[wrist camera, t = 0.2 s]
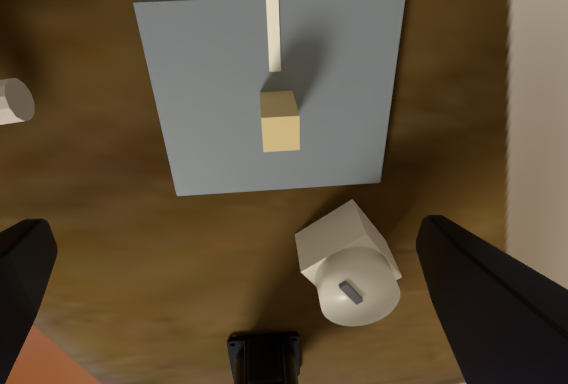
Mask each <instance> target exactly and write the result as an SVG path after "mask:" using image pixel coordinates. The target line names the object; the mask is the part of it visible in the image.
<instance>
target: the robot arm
mask: <svg viewBox="0 0 568 384" xmlns="http://www.w3.org/2000/svg"><path fill="white" fill-rule="evenodd" d="M416 250H417V254H418V257H419V261H420V264H421V267H422V271H423V274H424V277H425V281H426V284H427V288H428V291H429V294H430V297H431V300H432V303H433V306H434V308H435V311H436V313H437V315H438V318H439V320H440V322H441V325H442V327H443V330H444V332H445V334H446V337H447V339H448V341H449V344H450V346H451V348H452V351H453V353H454V355H455V358H456V360H457V363H458V365H459V367H460V370H461V372H462V374H463V377H464V379H465V381H466V383H467V384H568V290H567V289H566V288H564V287H562V286H561V285H559V284H557V283H555V282H554V281H552V280H550V279H549V278H547V277H545V276H544V275H542V274H540V273H539V272H537V271H535V270H533V269H532V268H530V267H528V266H527V265H525V264H523V263H522V262H520V261H518V260H517V259H515V258H513V257H511V256H510V255H508V254H506V253H505V252H503V251H501V250H500V249H498V248H496V247H495V246H493V245H491V244H490V243H488V242H486V241H485V240H483V239H481V238H479V237H478V236H476V235H474V234H473V233H471V232H469V231H468V230H466V229H464V228H463V227H461V226H459V225H458V224H456V223H454V222H452V221H451V220H449V219H447V218H446V217H444V216H442V215H427V216H425V217H424V218H423V220H422V223H421V226H420V229H419V232H418V236H417V239H416ZM56 257H57V244H56V242H55V239H54V236H53V234H52V231H51V228H50V225H49V223H48V222H47V221H46V220H45V219H24V220H22V221H20V222H19V223H17V224H15V225H13V226H11V227H9V228H7V229H5V230H4V231H2V232H0V384H5V382H6V380H7V378H8V376H9V374H10V371H11V369H12V367H13V365H14V363H15V361H16V359H17V357H18V355H19V352H20V350H21V348H22V346H23V344H24V342H25V340H26V337H27V335H28V333H29V331H30V329H31V326H32V325H33V322H34V320H35V318H36V315H37V313H38V310H39V308H40V305H41V302H42V299H43V296H44V293H45V290H46V287H47V284H48V281H49V278H50V275H51V272H52V269H53V266H54V263H55V260H56ZM227 348H228V353H229V358H230V364H231V369H232V374H233V379H234V384H298V375H299V374H300V339H299V334H298V333H296V332H292V333H281V334H269V335H257V336H245V337H233V338H229V339H228V340H227Z"/></svg>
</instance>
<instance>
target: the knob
mask: <svg viewBox="0 0 568 384" xmlns="http://www.w3.org/2000/svg"><path fill="white" fill-rule="evenodd" d="M295 239H296V246H297V252H298V258H299V265H300V271H301V273H302V274H303V275H304V276H305V277H306V278H307V279H308V280H310V281H311V282H312V283H313V284H314V285H315V286H316V287H317V291H318V296H319V301H320V306H321V310H322V313H323V314H324V316H325V317H326V318H327V319H328V320H330V321H332V322H333V323H336V324H339V325H343V326H362V325H367V324H370V323H373V322H376V321H378V320H380V319H382V318H384V317H385V316H387V315H388V314H389V313H390V312H392V311H393V309H394V308H395V307H396V306H397V304H398V302H399V299H400V288H399V286H398V284H397V281H396V280H398V279H399V278H401V277H402V276H401V273H400V271H399V269H398V267H397V264H396V262H395V260H394V258H393V256H392V253H391V251H390V249H389V247H388V244H387V242H386V240H385V239H384V238H383V236H382V235H381V234H380V233H379V231H378V230H377V229H376V228H375V226H374V225H373V224H372V223H371V221H370V220H369V219H368V218H367V216H366V215H365V214H364V213H363V211H362V210H361V209H360V208H359V206H358V205H357V204H356V203H355V201H354V200H353V199H352V200H350V201H348V202H347V203H345V204H343V205H342V206H340V207H339V208H337V209H335V210H334V211H332V212H330V213H329V214H327V215H325V216H324V217H322V218H321V219H319V220H317V221H316V222H314V223H312V224H311V225H309V226H308V227H306V228H304V229H303V230H301V231H299V232H298V233H296V234H295Z"/></svg>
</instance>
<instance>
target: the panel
mask: <svg viewBox="0 0 568 384" xmlns="http://www.w3.org/2000/svg"><path fill="white" fill-rule="evenodd" d="M133 4H134V9H135V13H136V17H137V22H138V26H139V31H140V35H141V40H142V44H143V48H144V53H145V57H146V62H147V66H148V70H149V75H150V79H151V84H152V88H153V92H154V97H155V101H156V106H157V110H158V115H159V119H160V123H161V128H162V132H163V137H164V141H165V145H166V150H167V154H168V159H169V163H170V168H171V172H172V176H173V181H174V185H175V190H176V194H177V196H186V195H201V194H216V193H231V192H246V191H262V190H277V189H292V188H307V187H322V186H337V185H353V184H368V183H380V180H381V173H382V166H383V159H384V151H385V144H386V137H387V129H388V122H389V115H390V107H391V100H392V93H393V85H394V78H395V71H396V63H397V56H398V49H399V41H400V34H401V27H402V19H403V12H404V5H405V0H137V1H135V2H133Z"/></svg>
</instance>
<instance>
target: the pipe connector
mask: <svg viewBox="0 0 568 384" xmlns="http://www.w3.org/2000/svg"><path fill="white" fill-rule="evenodd" d="M34 113H35V110H34V101H33V98H32V95H31V92H30V91H29V89H28V88H27V87H26V85H25V84H24V83H23V82H21V81H20V80H18V79H17V78H11V79H3V80H0V125H2V124H9V123H16V122H23V121H28V120H31V119H32V117H33V115H34Z"/></svg>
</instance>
